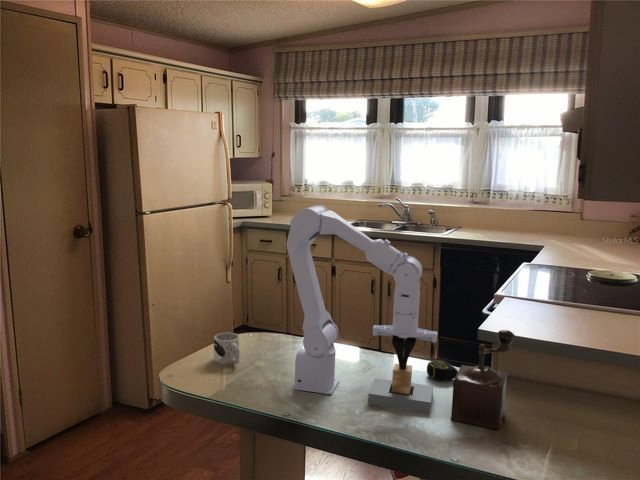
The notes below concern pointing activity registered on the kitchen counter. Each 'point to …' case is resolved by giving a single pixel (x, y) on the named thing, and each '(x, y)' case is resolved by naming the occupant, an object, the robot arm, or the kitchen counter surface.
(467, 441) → the kitchen counter surface
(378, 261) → the robot arm
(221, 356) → the mug
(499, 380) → the manual coffee grinder
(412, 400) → the hole board
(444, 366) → the tape measure
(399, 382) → the oak peg
